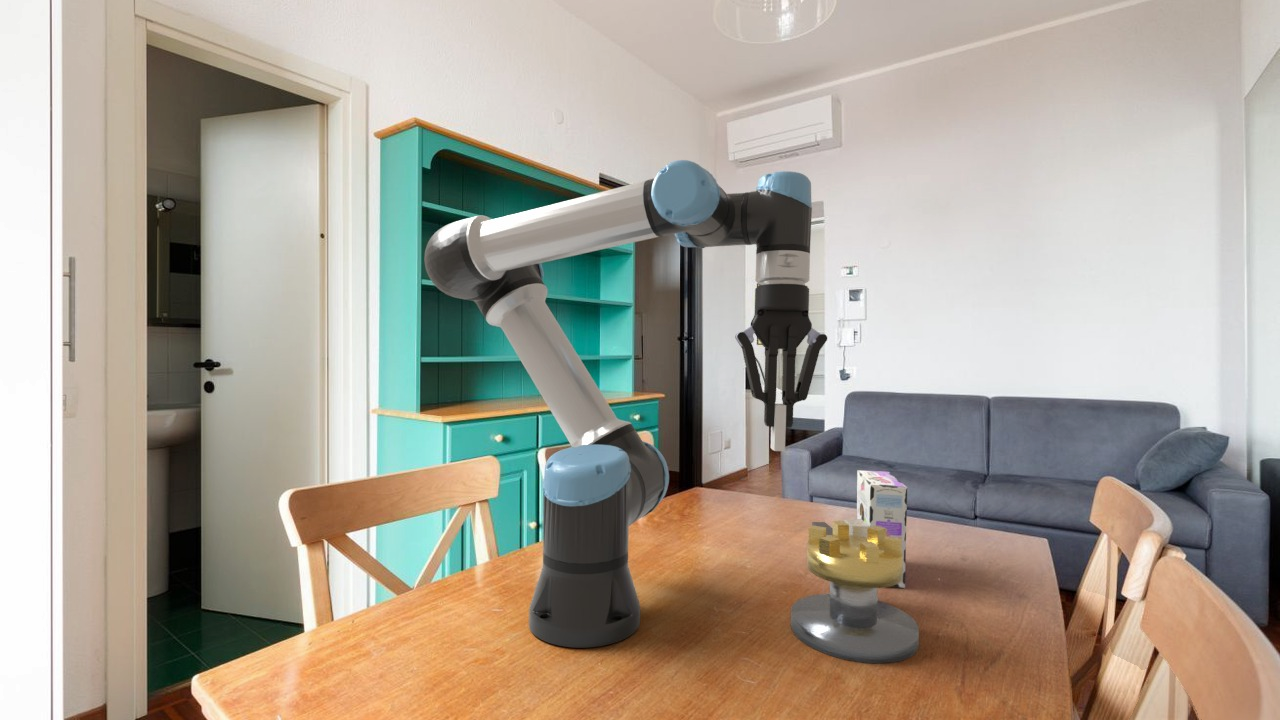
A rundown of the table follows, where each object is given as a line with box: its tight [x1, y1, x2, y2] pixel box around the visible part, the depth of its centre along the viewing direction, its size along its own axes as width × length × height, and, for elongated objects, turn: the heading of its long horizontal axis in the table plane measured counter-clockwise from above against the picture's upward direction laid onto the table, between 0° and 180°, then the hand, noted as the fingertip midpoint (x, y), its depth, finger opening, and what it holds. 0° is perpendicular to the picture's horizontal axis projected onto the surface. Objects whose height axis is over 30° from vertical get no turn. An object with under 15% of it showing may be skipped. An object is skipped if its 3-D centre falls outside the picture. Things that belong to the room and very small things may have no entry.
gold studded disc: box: [806, 520, 903, 589], centre depth 84 cm, size 20×12×5 cm, turn 2°
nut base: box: [790, 518, 920, 664], centre depth 81 cm, size 16×20×12 cm
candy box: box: [856, 470, 908, 589], centre depth 102 cm, size 14×6×16 cm, turn 168°
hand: (777, 449), depth 85 cm, fingers closed
